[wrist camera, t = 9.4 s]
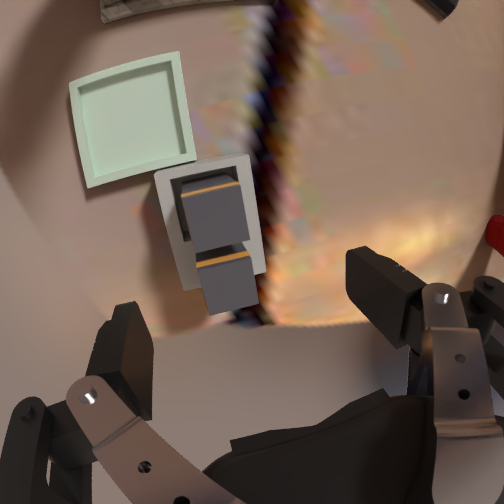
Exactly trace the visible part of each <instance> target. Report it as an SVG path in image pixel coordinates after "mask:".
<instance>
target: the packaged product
mask: <svg viewBox="0 0 504 504" xmlns="http://www.w3.org/2000/svg"><path fill="white" fill-rule="evenodd" d="M221 1H232V0H100V12H101V20H102V21H103V22H104V23H108V22H112V21H115V20H118V19H121V18H125V17H128V16H132V15H136V14H141V13H146V12H151V11H157V10H162V9H167V8H173V7H179V6H186V5H194V4H202V3H211V2H221Z"/></svg>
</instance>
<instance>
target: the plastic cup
mask: <svg viewBox="0 0 504 504" xmlns="http://www.w3.org/2000/svg"><path fill="white" fill-rule="evenodd" d="M486 241H487V243H489V245H490V246H492V247H493V248H494V249H495V250H497V251H498V252H499V253H500V254H501V255H502V256H503V257H504V216H502V215H494V216H492V218H491V219H490V221H489V223H488V225H487V229H486Z"/></svg>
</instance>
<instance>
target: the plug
mask: <svg viewBox="0 0 504 504" xmlns="http://www.w3.org/2000/svg"><path fill="white" fill-rule="evenodd" d="M181 199H182V203H183V207H184V211H185V216H186V220H187V224H188V228H189V232H190V236H191V240H192V243H193V247H194V251H195V253H199V252H203V251H207V250H211V249H215V248H219V247H223V246H227V245H231V244H236V243H240V242H244V241H248V240H250V235H249V230H248V224H247V219H246V213H245V208H244V202H243V197H242V191H241V186H240V184H239V182H236V181H235V180H233V179H232V178H231V177H230V176H228V175H227V174H226V173H225V172H222V173H218V174H213V175H208V176H204V177H200V178H195V179H191V180H187V181H183V182H182V194H181Z"/></svg>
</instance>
